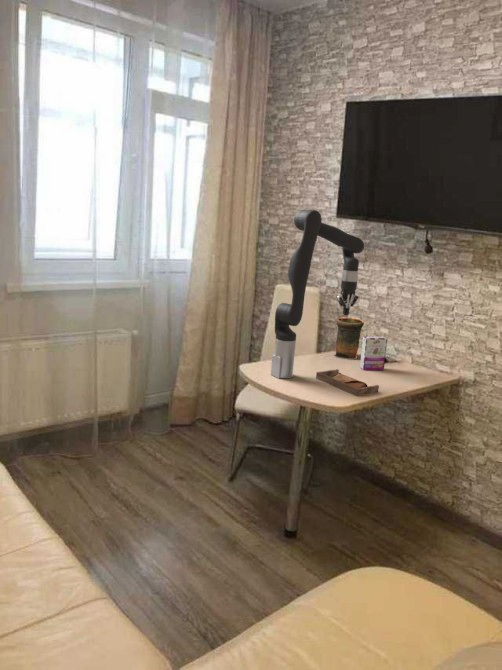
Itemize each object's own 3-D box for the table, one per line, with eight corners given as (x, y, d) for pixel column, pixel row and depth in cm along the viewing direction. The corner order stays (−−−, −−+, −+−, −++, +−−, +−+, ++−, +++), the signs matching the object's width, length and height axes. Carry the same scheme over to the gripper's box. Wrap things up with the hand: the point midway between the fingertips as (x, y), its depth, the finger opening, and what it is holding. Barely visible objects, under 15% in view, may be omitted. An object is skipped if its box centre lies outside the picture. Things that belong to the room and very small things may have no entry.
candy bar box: (379, 367, 280) (383, 336, 276) (384, 370, 275) (388, 338, 271) (359, 367, 277) (362, 335, 274) (362, 370, 273) (366, 337, 269)
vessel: (365, 357, 298) (369, 320, 293) (351, 361, 288) (354, 324, 283) (342, 351, 307) (346, 315, 303) (328, 355, 297) (331, 319, 292)
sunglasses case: (325, 381, 250) (332, 368, 251) (333, 386, 255) (340, 374, 256) (354, 393, 237) (361, 379, 237) (363, 399, 241) (370, 385, 242)
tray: (356, 396, 233) (357, 389, 232) (315, 378, 253) (316, 372, 253) (378, 392, 240) (378, 385, 239) (336, 375, 261) (337, 369, 260)
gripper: (354, 278, 273) (350, 313, 277) (334, 278, 266) (330, 314, 270) (365, 280, 267) (360, 316, 271) (344, 281, 260) (340, 317, 264)
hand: (345, 315), depth 271 cm, fingers closed
